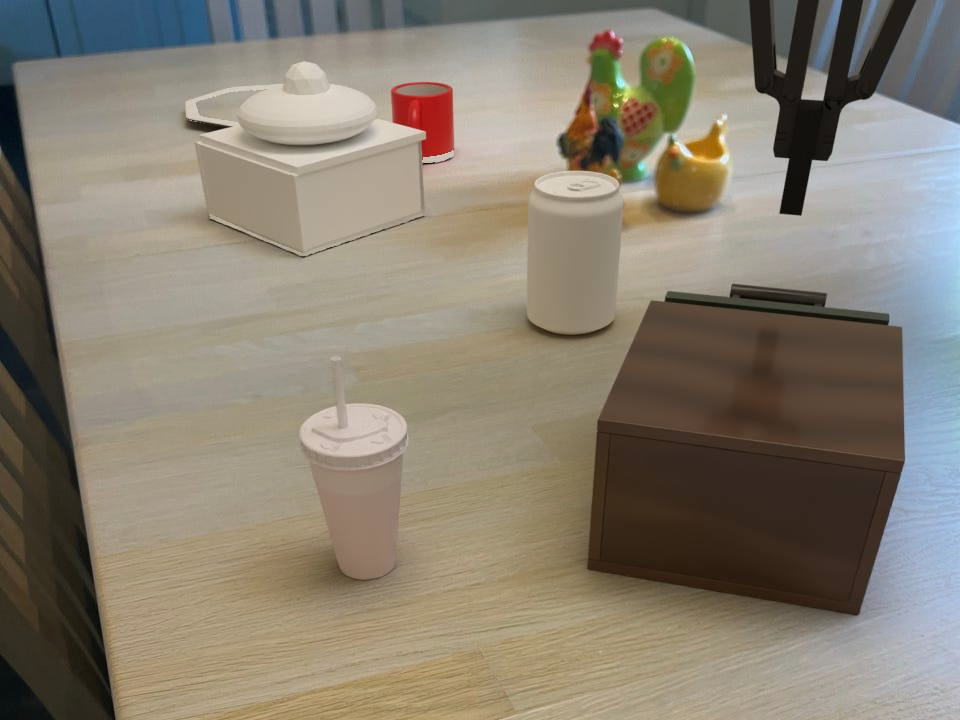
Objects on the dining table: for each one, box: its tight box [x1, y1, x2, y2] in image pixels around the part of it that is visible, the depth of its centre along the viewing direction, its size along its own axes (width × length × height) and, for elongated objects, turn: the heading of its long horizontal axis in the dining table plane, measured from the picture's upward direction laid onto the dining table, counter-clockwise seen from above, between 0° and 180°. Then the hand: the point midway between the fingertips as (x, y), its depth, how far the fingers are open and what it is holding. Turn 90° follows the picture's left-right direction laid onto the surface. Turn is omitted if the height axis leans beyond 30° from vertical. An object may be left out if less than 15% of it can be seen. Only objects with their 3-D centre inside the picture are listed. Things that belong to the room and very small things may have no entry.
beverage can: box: [526, 170, 625, 336], centre depth 89 cm, size 8×8×12 cm
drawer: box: [664, 283, 890, 326], centre depth 71 cm, size 22×15×9 cm
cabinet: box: [586, 300, 906, 616], centre depth 65 cm, size 18×17×11 cm
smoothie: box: [298, 355, 410, 581], centre depth 61 cm, size 6×6×14 cm
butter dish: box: [194, 60, 426, 253], centre depth 110 cm, size 18×18×16 cm
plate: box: [184, 83, 284, 129], centre depth 150 cm, size 24×24×2 cm
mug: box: [390, 81, 455, 160], centre depth 129 cm, size 8×12×8 cm, turn 176°
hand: (791, 208), depth 70 cm, fingers closed
